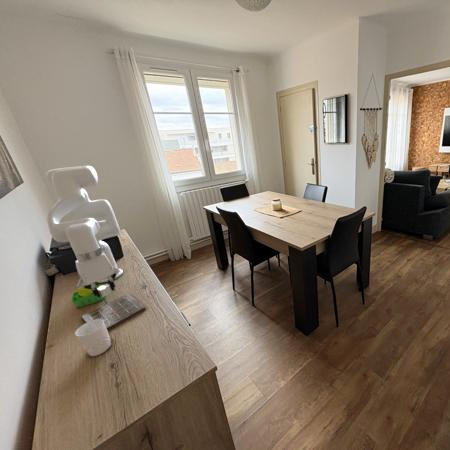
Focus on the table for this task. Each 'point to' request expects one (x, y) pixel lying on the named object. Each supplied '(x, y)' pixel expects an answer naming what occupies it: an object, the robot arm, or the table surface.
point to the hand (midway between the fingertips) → (105, 292)
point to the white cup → (94, 337)
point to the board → (116, 311)
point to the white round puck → (104, 290)
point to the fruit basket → (85, 297)
